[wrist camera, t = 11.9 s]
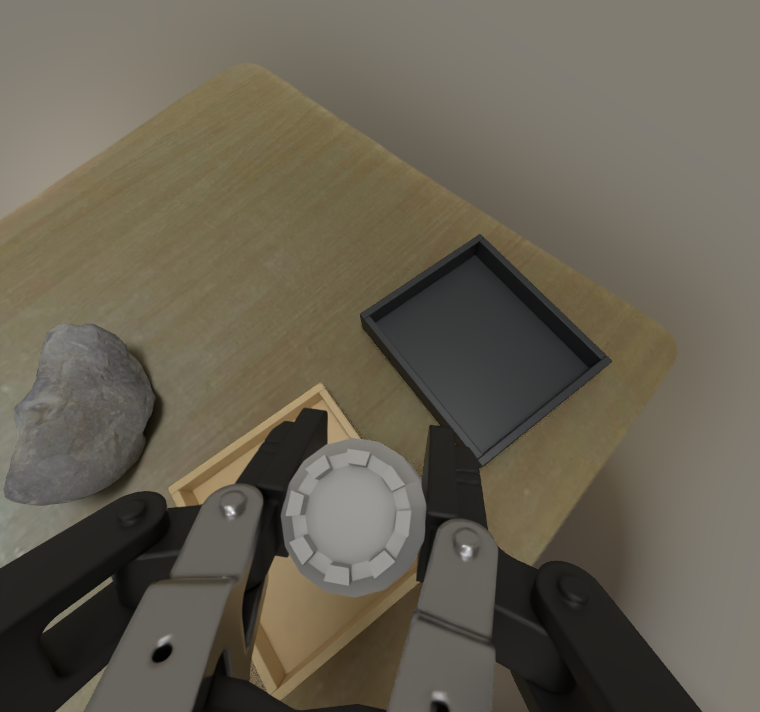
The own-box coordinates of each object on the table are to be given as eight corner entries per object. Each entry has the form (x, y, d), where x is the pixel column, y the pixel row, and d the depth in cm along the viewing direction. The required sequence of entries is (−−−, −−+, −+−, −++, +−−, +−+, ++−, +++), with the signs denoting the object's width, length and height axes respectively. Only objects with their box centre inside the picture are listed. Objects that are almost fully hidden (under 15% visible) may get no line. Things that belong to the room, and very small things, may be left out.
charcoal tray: (597, 371, 32) (613, 361, 29) (476, 469, 29) (482, 466, 27) (474, 250, 36) (480, 233, 34) (362, 326, 34) (359, 314, 32)
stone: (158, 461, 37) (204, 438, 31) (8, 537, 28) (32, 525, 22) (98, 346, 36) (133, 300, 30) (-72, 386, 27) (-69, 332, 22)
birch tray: (442, 554, 27) (446, 559, 25) (285, 687, 25) (273, 706, 23) (326, 390, 32) (320, 381, 30) (185, 489, 30) (167, 488, 27)
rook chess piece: (399, 432, 16) (399, 371, 9) (451, 539, 15) (505, 576, 7) (301, 480, 16) (211, 458, 8) (343, 595, 14) (280, 699, 7)
